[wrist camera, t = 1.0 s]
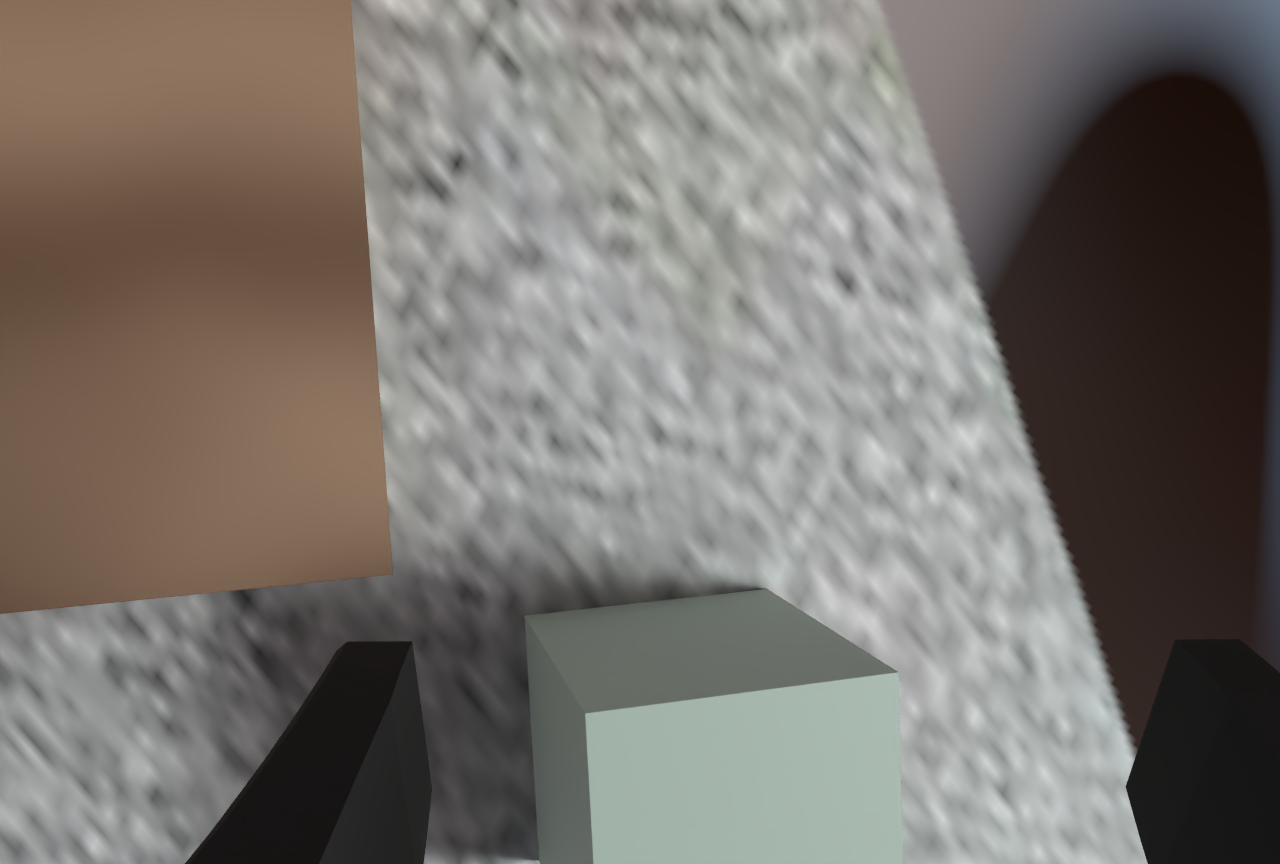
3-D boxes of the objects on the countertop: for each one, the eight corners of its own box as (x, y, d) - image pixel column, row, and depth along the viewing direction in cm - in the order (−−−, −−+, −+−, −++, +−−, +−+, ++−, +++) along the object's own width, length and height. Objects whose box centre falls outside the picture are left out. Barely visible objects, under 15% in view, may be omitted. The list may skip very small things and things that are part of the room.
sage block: (775, 822, 25) (906, 974, 19) (538, 859, 24) (602, 1034, 18) (765, 588, 24) (898, 672, 19) (524, 615, 23) (585, 713, 17)
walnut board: (387, 547, 23) (392, 574, 21) (-204, 602, 21) (-276, 641, 18) (348, 9, 22) (348, -28, 19) (-282, 4, 19) (-370, -39, 17)
